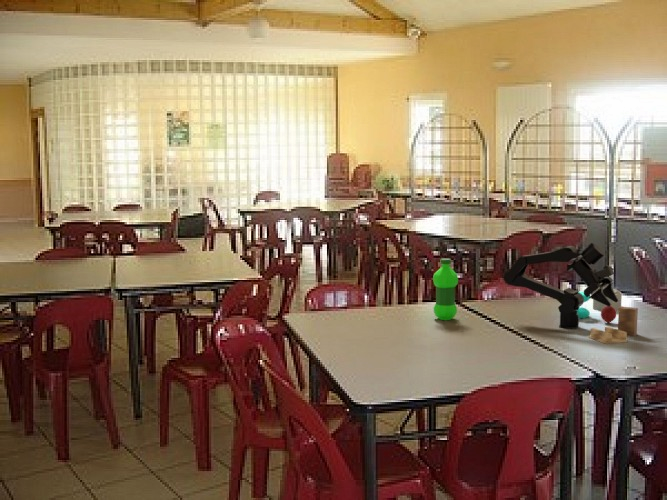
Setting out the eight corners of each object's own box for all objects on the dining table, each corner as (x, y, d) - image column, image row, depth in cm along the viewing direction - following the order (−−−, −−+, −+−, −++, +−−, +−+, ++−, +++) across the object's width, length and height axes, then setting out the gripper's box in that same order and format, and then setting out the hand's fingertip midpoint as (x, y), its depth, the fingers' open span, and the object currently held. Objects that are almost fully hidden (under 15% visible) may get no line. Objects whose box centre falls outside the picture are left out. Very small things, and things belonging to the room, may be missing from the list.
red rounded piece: (616, 325, 315) (617, 305, 314) (601, 324, 316) (602, 304, 315) (614, 321, 320) (615, 302, 319) (599, 321, 322) (600, 301, 321)
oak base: (589, 337, 294) (589, 328, 294) (609, 335, 297) (609, 326, 297) (607, 343, 285) (607, 334, 284) (627, 341, 288) (627, 332, 287)
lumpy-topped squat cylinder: (589, 309, 347) (590, 289, 346) (604, 304, 356) (604, 285, 354) (612, 312, 339) (612, 292, 338) (626, 308, 348) (627, 288, 347)
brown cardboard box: (617, 333, 300) (618, 307, 299) (620, 332, 303) (621, 306, 301) (634, 336, 296) (635, 309, 295) (636, 334, 299) (637, 308, 298)
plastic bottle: (456, 316, 334) (457, 257, 331) (458, 321, 323) (458, 261, 320) (432, 316, 335) (433, 257, 332) (433, 321, 324) (433, 260, 321)
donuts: (562, 290, 335) (586, 290, 335) (561, 314, 337) (585, 314, 336) (568, 295, 325) (593, 295, 325) (568, 319, 327) (592, 319, 326)
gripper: (593, 261, 295) (622, 294, 290) (608, 256, 310) (636, 286, 305) (571, 280, 300) (599, 312, 295) (587, 274, 315) (615, 304, 310)
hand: (613, 303), depth 301 cm, fingers open, 9 cm apart
